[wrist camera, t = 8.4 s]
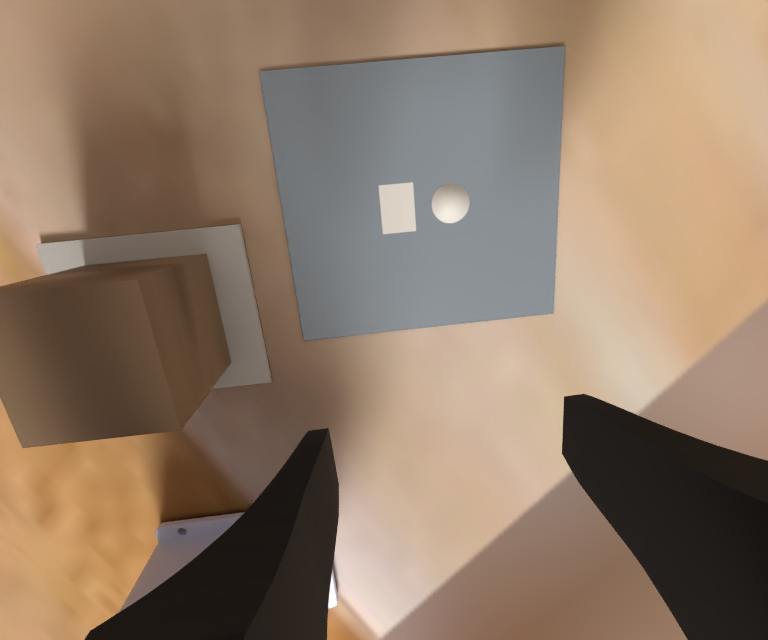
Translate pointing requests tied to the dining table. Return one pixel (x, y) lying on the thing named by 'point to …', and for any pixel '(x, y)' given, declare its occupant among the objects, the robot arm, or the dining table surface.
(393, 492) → the dining table surface
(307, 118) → the blue-gray square plate
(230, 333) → the rubber mat
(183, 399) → the walnut block
